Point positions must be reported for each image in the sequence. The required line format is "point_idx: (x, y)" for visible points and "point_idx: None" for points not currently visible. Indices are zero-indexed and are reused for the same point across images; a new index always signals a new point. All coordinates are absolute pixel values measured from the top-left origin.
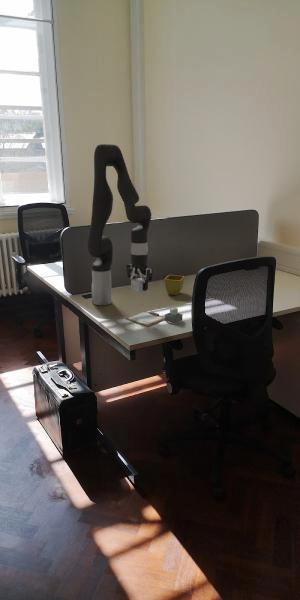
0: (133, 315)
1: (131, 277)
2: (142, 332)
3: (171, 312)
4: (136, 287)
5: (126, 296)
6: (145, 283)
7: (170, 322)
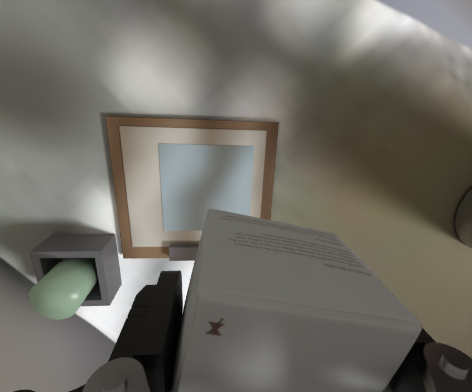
0: (265, 178)
1: (466, 383)
2: (64, 31)
3: (56, 272)
4: (239, 239)
5: (437, 324)
6: (115, 363)
7: (78, 235)
